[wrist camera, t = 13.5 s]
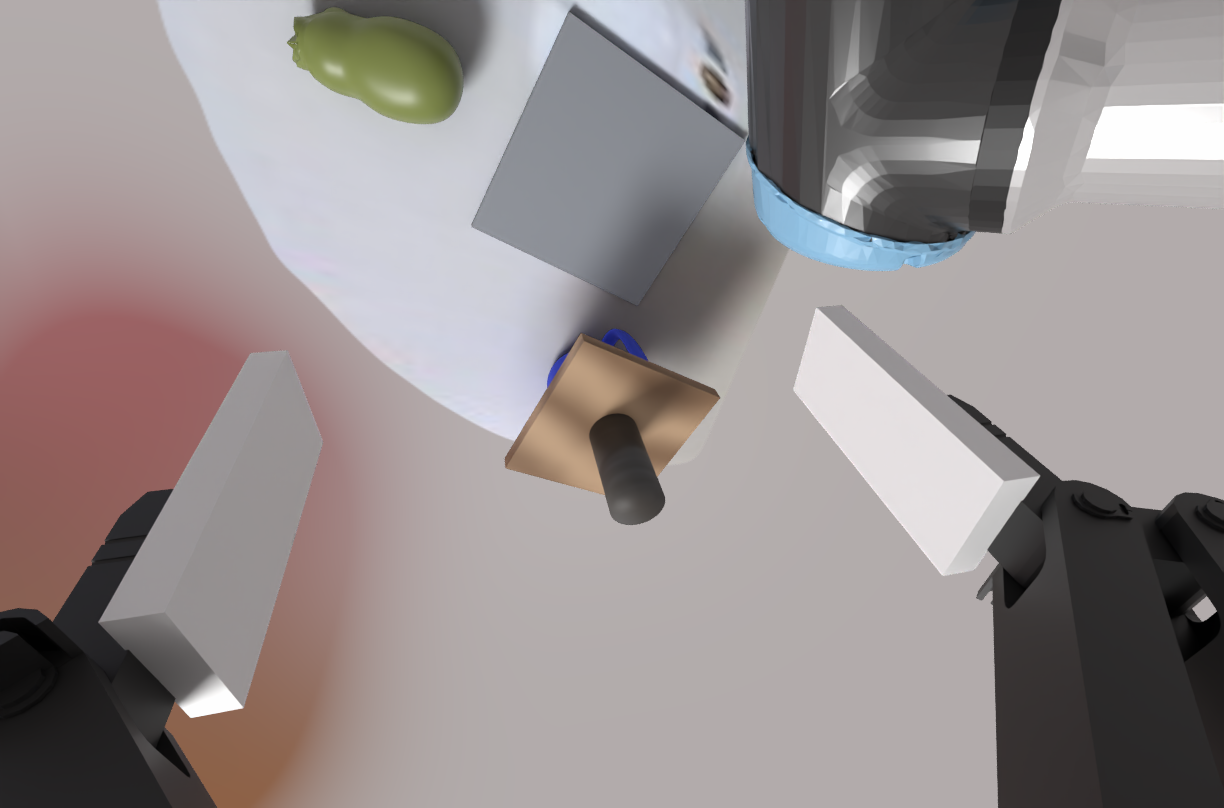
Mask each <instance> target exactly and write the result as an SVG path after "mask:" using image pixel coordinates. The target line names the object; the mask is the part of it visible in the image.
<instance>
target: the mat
mask: <svg viewBox="0 0 1224 808" xmlns="http://www.w3.org/2000/svg"><path fill="white" fill-rule="evenodd" d="M744 142H745V140H744V139H743V138H741V137H740V136H738V135H737V134H736V133H734V132H733V131H732V130H730V129H729V128H727V127H726V126H725V125H723V124H722V123H721V122H719V121H718V120H717V119H715V118H714V117H712V116H711V115H710V114H708V113H707V112H706V111H704V110H703V109H702V108H700V107H699V106H697V105H696V104H695V103H693V102H692V101H691V100H689V99H688V98H687V97H685V96H684V95H682V94H681V93H680V92H678V91H677V90H676V89H674V88H673V87H671V86H670V85H669V84H667V83H666V82H665V81H663V80H662V79H661V78H659V77H658V76H656V75H655V74H654V73H652V72H651V71H650V70H648V69H647V68H646V67H644V66H643V65H641V64H640V63H639V62H637V61H636V60H635V59H633V58H632V57H630V56H629V55H628V54H626V53H625V52H624V51H622V50H621V49H620V48H618V47H617V46H615V45H614V44H613V43H611V42H610V41H609V40H607V39H606V38H605V37H603V36H602V35H600V34H599V33H598V32H596V31H595V30H594V29H592V28H591V27H590V26H588V25H587V24H585V23H584V22H583V21H581V20H580V19H579V18H577V17H576V16H574V15H573V14H572V13H570V12H568V14H567V16H566V19H565V21H564V23H563V25H562V27H561V29H560V32H559V34H558V36H557V38H556V40H555V43H554V45H553V47H552V49H551V51H550V54H549V56H548V58H547V60H546V62H545V65H544V67H543V69H542V71H541V73H540V76H539V78H538V80H537V82H536V84H535V87H534V89H533V91H532V93H531V95H530V97H529V100H528V102H527V104H526V106H525V108H524V111H523V113H522V115H521V117H520V119H519V122H518V124H517V126H516V128H515V130H514V133H513V135H512V137H511V139H510V141H509V144H508V146H507V148H506V150H505V152H504V155H503V157H502V159H501V161H500V163H499V165H498V168H497V170H496V172H495V174H494V176H493V179H492V181H491V183H490V185H489V187H488V190H487V192H486V194H485V196H484V198H483V201H482V203H481V205H480V207H479V209H478V212H477V214H476V216H475V218H474V220H473V222H472V227H473V228H475V229H477V230H479V231H481V232H484V233H486V234H488V235H490V236H492V237H494V238H496V239H498V240H500V241H502V242H504V243H507V244H509V245H511V246H513V247H515V248H517V249H519V250H521V251H523V252H525V253H527V254H530V255H532V256H534V257H536V258H538V259H540V260H542V261H544V262H546V263H548V264H550V265H553V266H555V267H557V268H559V269H561V270H563V271H565V272H567V273H569V274H571V275H573V276H576V277H578V278H580V279H582V280H584V281H586V282H588V283H590V284H592V285H594V286H596V287H599V288H601V289H603V290H605V291H607V292H609V293H611V294H613V295H615V296H617V297H619V298H622V299H624V300H626V301H628V302H630V303H632V304H634V305H636V306H638V305H639V303H640V302H641V300H642V298H643V297H644V295H645V294H646V292H647V291H648V289H649V288H650V286H651V285H652V283H653V282H654V280H655V278H656V277H657V275H658V274H659V272H660V271H661V269H662V268H663V266H664V265H665V263H666V262H667V260H668V259H669V257H670V255H671V254H672V252H673V251H674V249H675V248H676V246H677V245H678V243H679V242H680V240H681V239H682V237H683V236H684V234H685V232H686V231H687V229H688V228H689V226H690V225H691V223H692V222H693V220H694V219H695V217H696V216H697V214H698V212H699V211H700V209H701V208H702V206H703V205H704V203H705V202H706V200H707V199H708V197H709V196H710V194H711V193H712V191H713V189H714V188H715V186H716V185H717V183H718V182H719V180H720V179H721V177H722V176H723V174H724V173H725V171H726V170H727V168H728V166H729V165H730V163H731V162H732V160H733V159H734V157H735V156H736V154H737V153H738V151H739V150H740V148H741V147H742V145H743V143H744Z"/></svg>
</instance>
